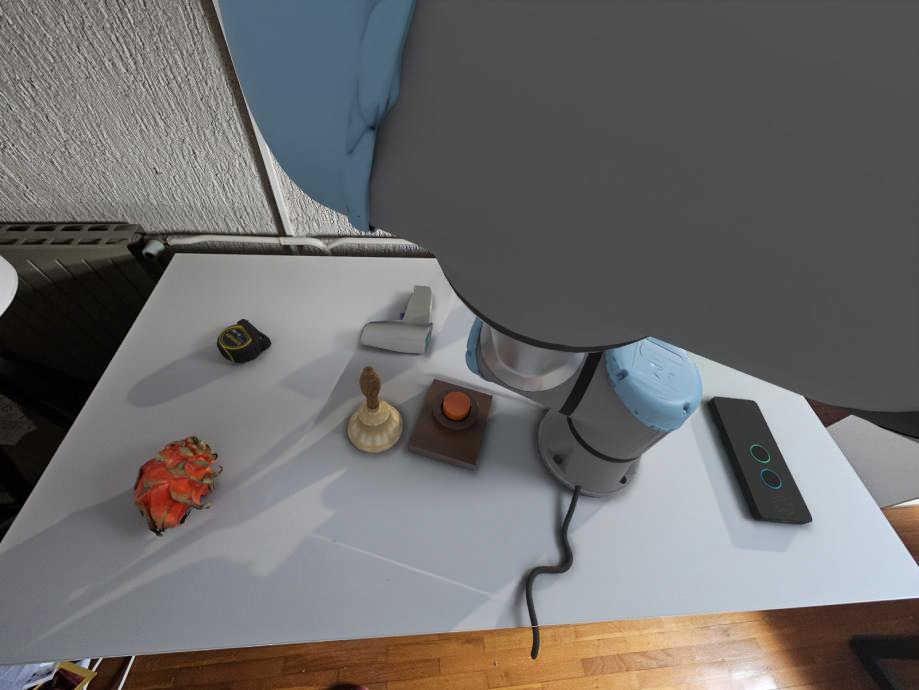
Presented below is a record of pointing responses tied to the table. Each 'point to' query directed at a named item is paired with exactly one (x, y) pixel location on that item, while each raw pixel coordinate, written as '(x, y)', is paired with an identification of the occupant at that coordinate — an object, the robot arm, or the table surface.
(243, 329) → the tape measure
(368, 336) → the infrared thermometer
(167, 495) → the dragon fruit
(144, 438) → the table surface
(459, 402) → the button
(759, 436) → the smart home device
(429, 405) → the control block
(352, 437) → the hand bell
